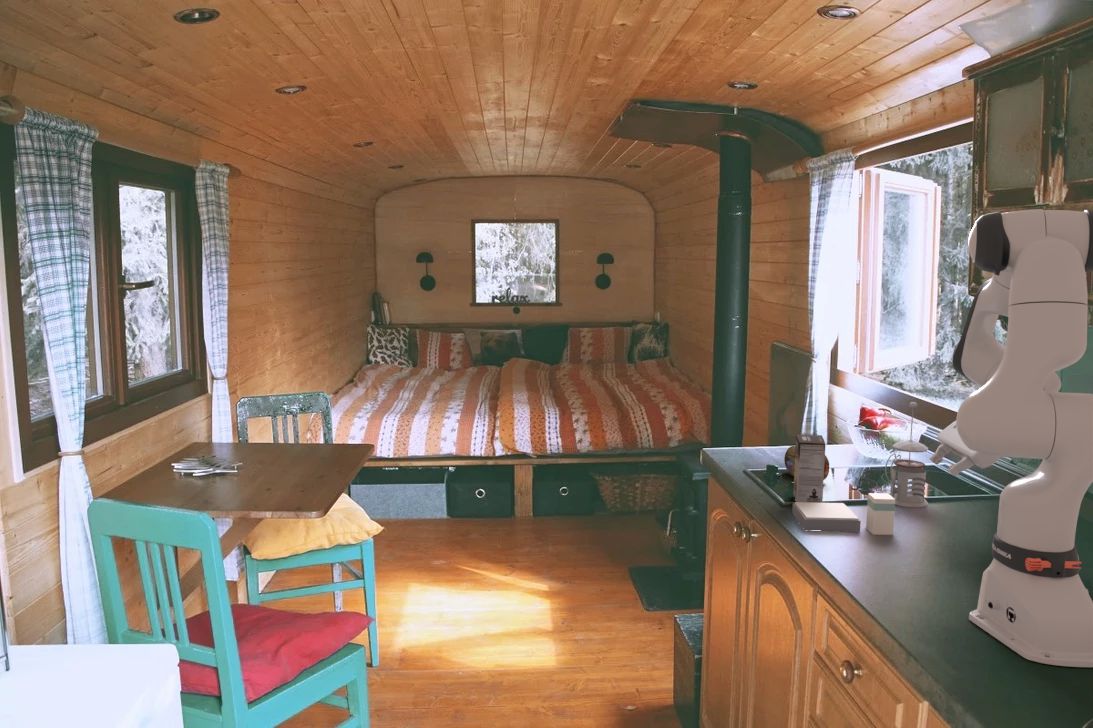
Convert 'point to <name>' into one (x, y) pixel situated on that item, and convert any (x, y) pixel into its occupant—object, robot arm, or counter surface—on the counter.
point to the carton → (880, 513)
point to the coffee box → (809, 468)
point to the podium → (826, 517)
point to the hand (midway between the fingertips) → (941, 467)
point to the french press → (908, 474)
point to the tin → (790, 462)
